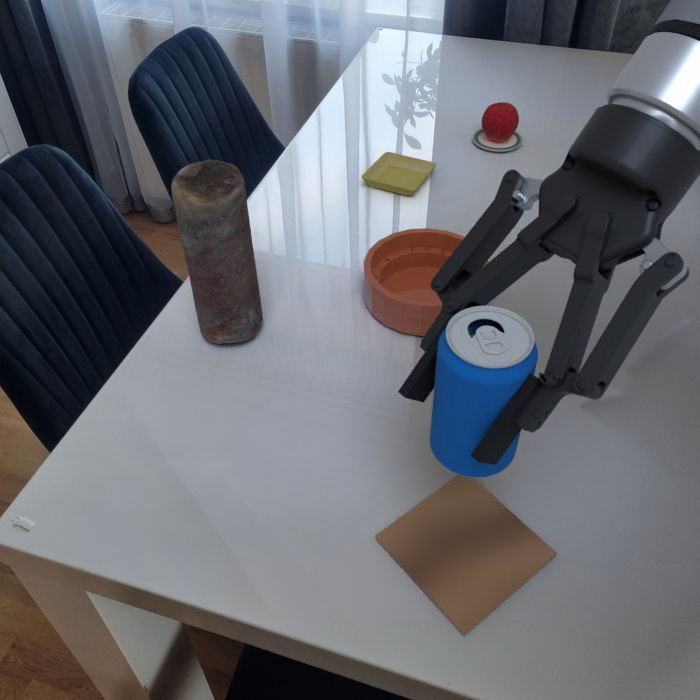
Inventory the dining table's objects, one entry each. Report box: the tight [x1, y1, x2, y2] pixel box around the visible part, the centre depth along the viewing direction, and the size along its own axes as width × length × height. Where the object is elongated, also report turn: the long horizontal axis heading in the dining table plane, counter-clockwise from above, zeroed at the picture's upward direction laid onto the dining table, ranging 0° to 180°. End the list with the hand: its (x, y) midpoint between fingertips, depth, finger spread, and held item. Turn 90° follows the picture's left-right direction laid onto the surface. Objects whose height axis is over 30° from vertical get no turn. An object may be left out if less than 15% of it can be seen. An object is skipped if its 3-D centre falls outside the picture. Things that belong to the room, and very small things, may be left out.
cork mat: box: [375, 474, 558, 637], centre depth 59 cm, size 11×11×1 cm
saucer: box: [360, 151, 438, 197], centre depth 101 cm, size 9×9×2 cm
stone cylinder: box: [170, 158, 264, 345], centre depth 73 cm, size 8×7×20 cm
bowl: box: [363, 227, 490, 337], centre depth 81 cm, size 15×15×5 cm
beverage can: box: [429, 305, 539, 479], centre depth 48 cm, size 6×6×12 cm
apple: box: [471, 101, 524, 153], centre depth 107 cm, size 8×8×6 cm
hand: (445, 426), depth 47 cm, fingers closed on beverage can, 6 cm apart
